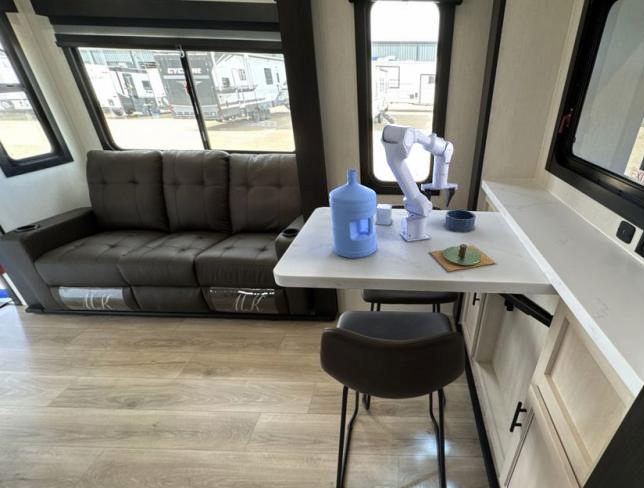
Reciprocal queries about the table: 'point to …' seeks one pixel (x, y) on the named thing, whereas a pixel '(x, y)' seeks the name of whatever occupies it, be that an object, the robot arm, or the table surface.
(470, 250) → the lid
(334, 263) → the table surface
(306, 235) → the table surface
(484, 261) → the mat
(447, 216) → the tin
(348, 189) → the water jug
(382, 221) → the product box
